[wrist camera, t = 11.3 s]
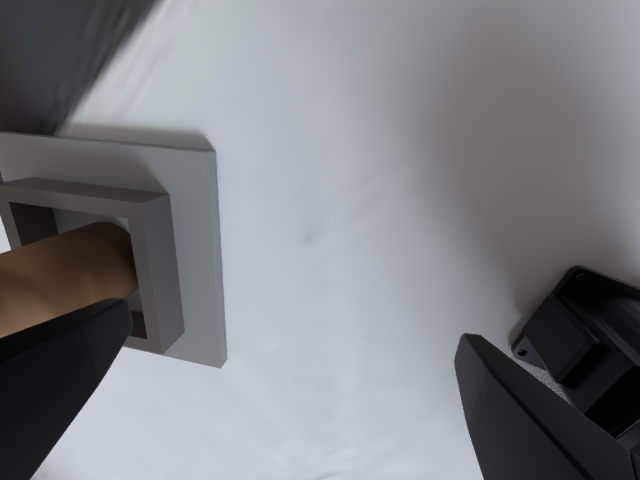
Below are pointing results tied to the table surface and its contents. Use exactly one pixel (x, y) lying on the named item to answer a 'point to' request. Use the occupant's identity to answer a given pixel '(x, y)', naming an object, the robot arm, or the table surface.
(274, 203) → the table surface
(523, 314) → the table surface
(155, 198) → the collar
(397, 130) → the table surface
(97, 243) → the peg
